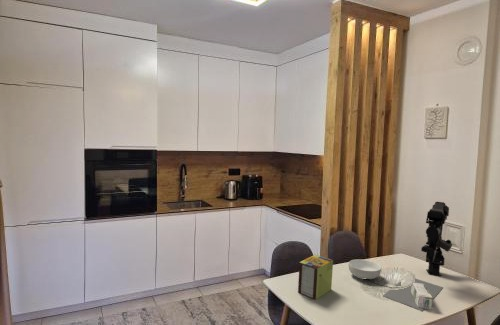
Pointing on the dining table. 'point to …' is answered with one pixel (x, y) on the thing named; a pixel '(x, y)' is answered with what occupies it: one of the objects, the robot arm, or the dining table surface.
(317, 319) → the dining table surface
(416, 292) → the syrup box
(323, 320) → the dining table surface
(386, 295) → the rubber mat
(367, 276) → the cereal bowl
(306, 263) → the protein box
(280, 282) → the dining table surface
